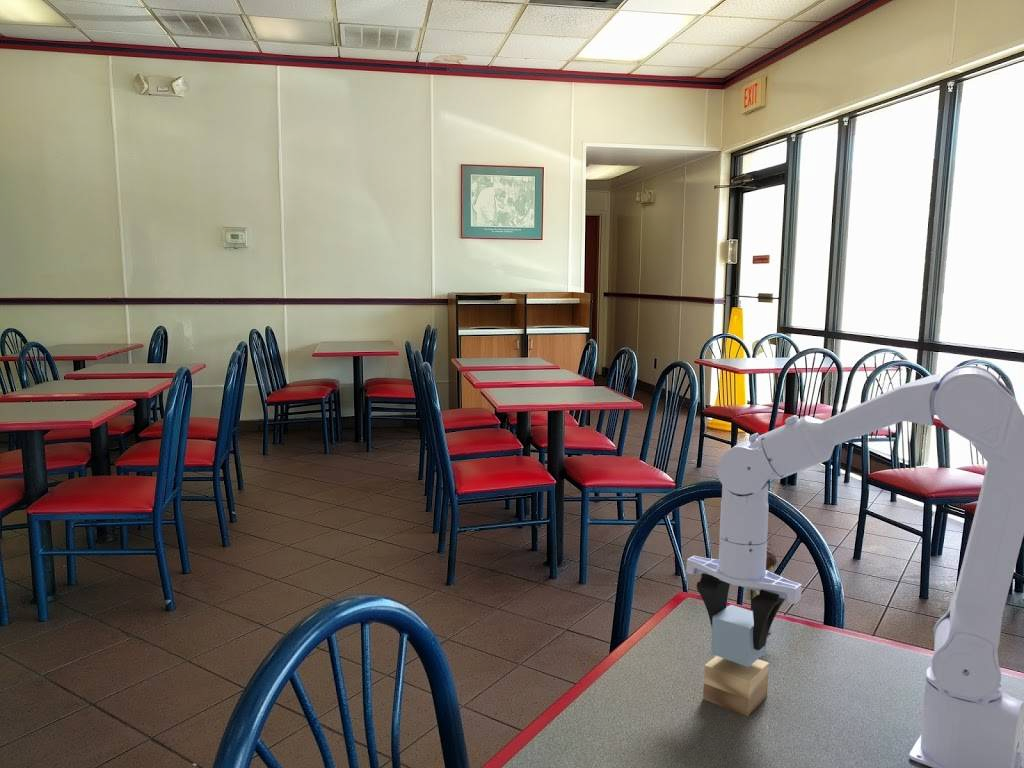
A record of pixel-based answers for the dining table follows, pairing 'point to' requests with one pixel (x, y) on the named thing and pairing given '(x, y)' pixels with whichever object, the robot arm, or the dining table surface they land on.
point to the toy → (769, 562)
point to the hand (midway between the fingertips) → (738, 640)
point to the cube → (735, 636)
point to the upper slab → (736, 676)
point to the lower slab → (734, 699)
